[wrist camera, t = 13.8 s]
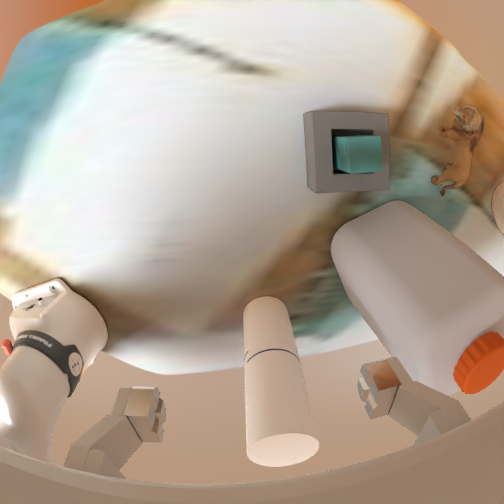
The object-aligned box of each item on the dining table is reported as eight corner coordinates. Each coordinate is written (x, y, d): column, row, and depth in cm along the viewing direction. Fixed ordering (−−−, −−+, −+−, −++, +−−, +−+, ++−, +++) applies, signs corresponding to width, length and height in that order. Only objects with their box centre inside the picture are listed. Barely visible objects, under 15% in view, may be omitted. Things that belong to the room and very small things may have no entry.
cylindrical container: (296, 312, 48) (333, 444, 25) (267, 339, 50) (283, 471, 27) (263, 287, 46) (283, 425, 23) (233, 318, 48) (231, 455, 25)
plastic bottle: (406, 189, 41) (550, 265, 15) (425, 269, 46) (528, 372, 20) (319, 231, 43) (413, 366, 17) (351, 309, 48) (422, 446, 22)
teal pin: (327, 136, 37) (347, 137, 29) (355, 134, 37) (380, 136, 29) (330, 165, 38) (350, 173, 31) (357, 163, 38) (383, 171, 31)
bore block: (307, 186, 40) (315, 193, 36) (303, 113, 37) (311, 110, 32) (373, 183, 40) (389, 190, 36) (372, 114, 37) (387, 113, 32)
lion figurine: (430, 102, 36) (467, 101, 27) (455, 108, 36) (491, 109, 27) (428, 194, 41) (462, 209, 33) (452, 195, 41) (486, 210, 33)
